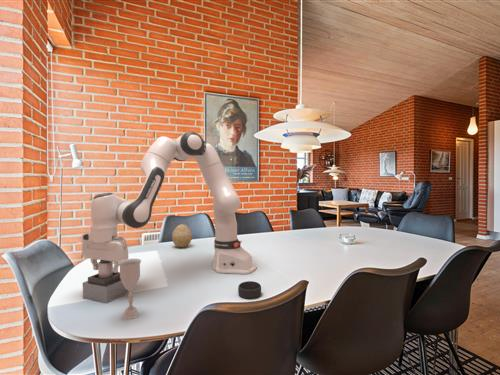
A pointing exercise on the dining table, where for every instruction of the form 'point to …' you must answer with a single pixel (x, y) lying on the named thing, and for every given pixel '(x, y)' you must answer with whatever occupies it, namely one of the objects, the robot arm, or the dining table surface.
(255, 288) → the smart speaker
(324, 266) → the dining table surface
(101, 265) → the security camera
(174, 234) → the fossilized egg
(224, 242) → the robot arm
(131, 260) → the chalice
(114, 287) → the motor block
